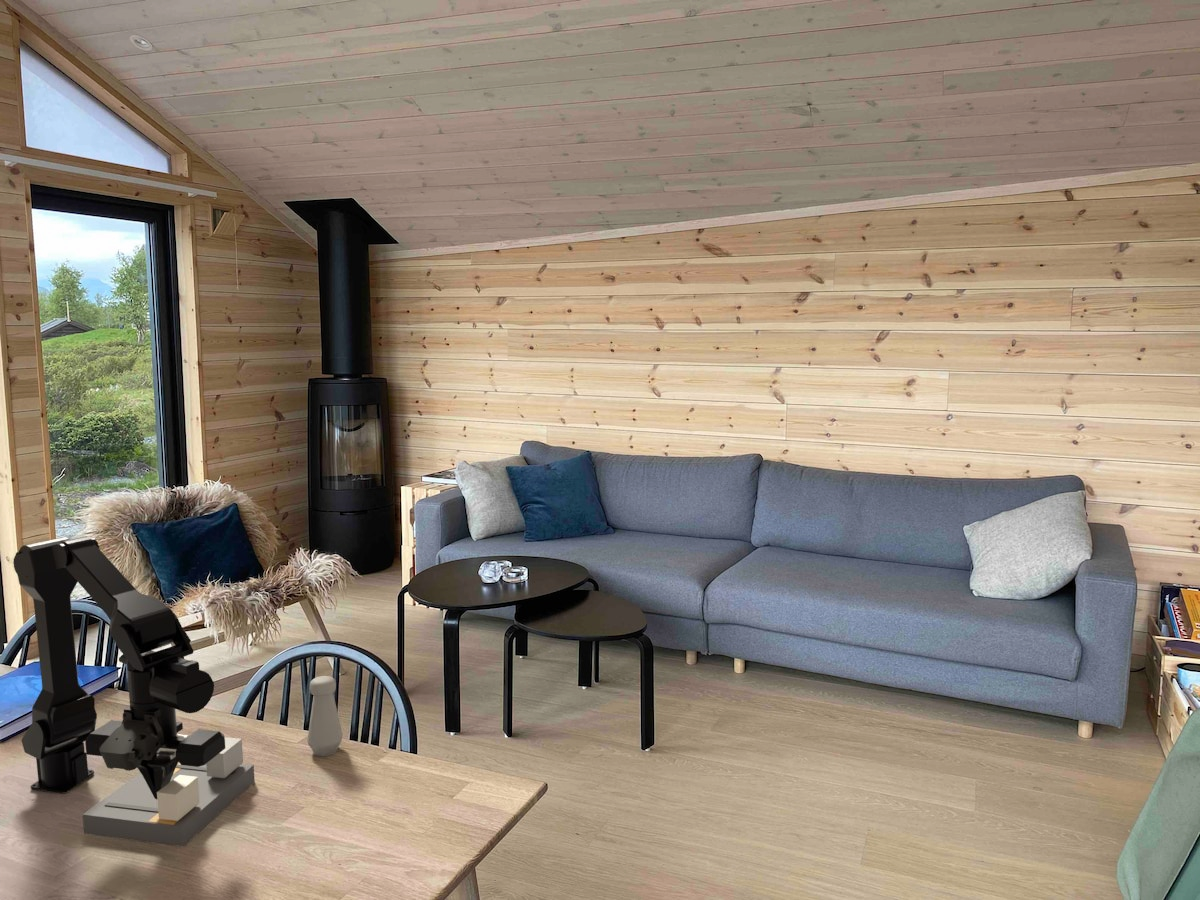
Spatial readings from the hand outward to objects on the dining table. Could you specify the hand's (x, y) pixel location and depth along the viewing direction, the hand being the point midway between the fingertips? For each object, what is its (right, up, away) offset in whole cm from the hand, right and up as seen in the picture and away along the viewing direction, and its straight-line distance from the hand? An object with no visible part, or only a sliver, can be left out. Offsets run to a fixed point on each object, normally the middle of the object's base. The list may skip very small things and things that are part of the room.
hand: (159, 798), depth 133 cm
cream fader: (+3, -2, 0) cm, 3 cm away
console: (-1, -4, +7) cm, 8 cm away
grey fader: (+5, 0, +11) cm, 12 cm away
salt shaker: (+17, -2, +25) cm, 30 cm away
